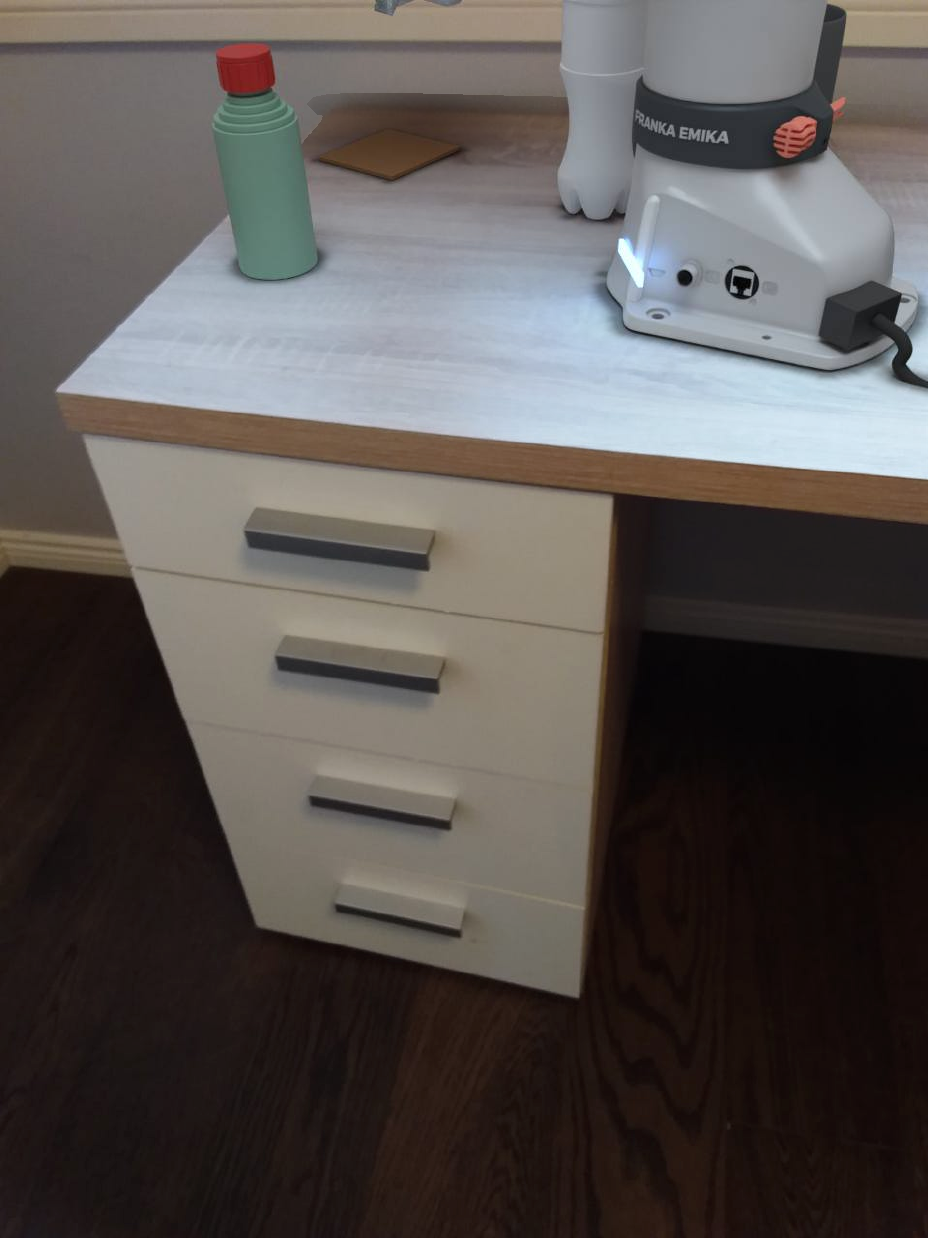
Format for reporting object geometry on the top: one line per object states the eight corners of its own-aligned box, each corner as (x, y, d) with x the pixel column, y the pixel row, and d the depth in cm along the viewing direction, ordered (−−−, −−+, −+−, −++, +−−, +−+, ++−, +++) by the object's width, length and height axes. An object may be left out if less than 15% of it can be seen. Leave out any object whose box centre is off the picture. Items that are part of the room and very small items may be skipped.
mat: (460, 149, 101) (460, 145, 101) (392, 180, 96) (392, 175, 96) (387, 132, 106) (387, 128, 106) (319, 160, 101) (318, 156, 101)
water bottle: (638, 192, 91) (663, -156, 74) (640, 224, 86) (668, -143, 69) (557, 193, 92) (564, -152, 75) (555, 224, 87) (562, -139, 70)
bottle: (334, 258, 83) (306, 53, 73) (276, 286, 80) (239, 75, 70) (281, 240, 87) (248, 41, 76) (223, 267, 83) (180, 62, 73)
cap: (286, 82, 74) (281, 47, 73) (245, 96, 72) (239, 60, 70) (251, 74, 76) (245, 40, 75) (210, 87, 74) (203, 52, 72)
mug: (839, 151, 97) (867, 7, 88) (790, 180, 92) (815, 30, 84) (715, 125, 104) (731, -11, 95) (664, 150, 99) (676, 9, 91)
